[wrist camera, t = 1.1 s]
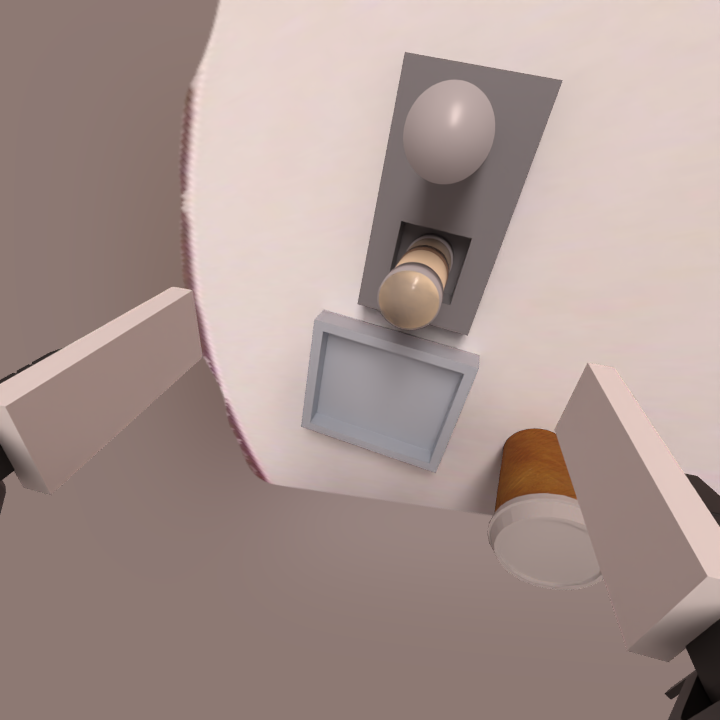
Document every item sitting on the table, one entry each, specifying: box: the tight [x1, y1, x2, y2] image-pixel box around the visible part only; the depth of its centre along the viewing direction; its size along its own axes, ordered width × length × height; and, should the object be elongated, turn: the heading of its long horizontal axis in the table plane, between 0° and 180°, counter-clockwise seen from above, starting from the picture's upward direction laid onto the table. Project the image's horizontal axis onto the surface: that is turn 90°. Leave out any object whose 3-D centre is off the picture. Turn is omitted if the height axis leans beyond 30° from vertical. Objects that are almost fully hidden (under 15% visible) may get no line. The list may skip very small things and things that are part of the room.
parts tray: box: [301, 310, 479, 473], centre depth 40 cm, size 16×14×2 cm
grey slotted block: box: [358, 52, 563, 336], centre depth 26 cm, size 10×18×14 cm, turn 169°
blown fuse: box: [377, 233, 454, 330], centre depth 28 cm, size 4×4×11 cm
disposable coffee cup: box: [488, 429, 603, 590], centre depth 35 cm, size 10×10×12 cm
